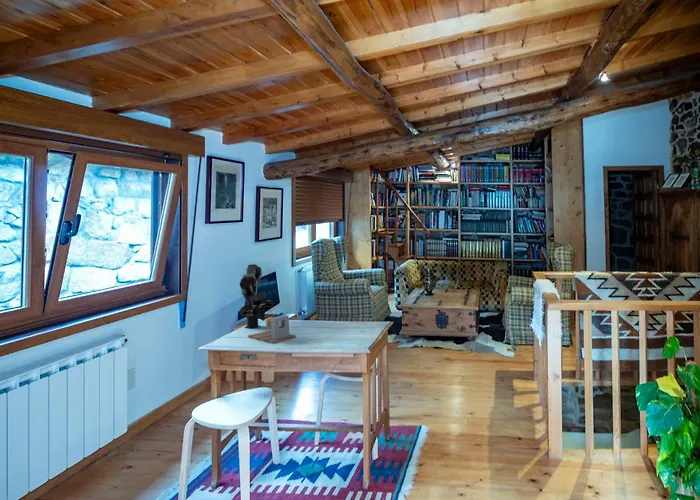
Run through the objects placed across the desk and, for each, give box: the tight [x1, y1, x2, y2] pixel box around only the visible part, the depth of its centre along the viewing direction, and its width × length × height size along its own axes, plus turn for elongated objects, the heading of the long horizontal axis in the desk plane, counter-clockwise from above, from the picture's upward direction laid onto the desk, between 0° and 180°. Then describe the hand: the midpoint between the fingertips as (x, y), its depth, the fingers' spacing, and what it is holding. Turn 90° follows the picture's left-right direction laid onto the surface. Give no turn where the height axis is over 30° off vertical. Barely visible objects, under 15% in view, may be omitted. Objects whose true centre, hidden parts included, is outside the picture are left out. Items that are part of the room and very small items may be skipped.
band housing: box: [269, 314, 290, 340], centre depth 249 cm, size 3×9×10 cm, turn 138°
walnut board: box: [247, 329, 297, 345], centre depth 254 cm, size 20×15×1 cm
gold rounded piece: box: [265, 316, 282, 328], centre depth 252 cm, size 8×5×5 cm, turn 48°
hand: (264, 320), depth 257 cm, fingers closed
